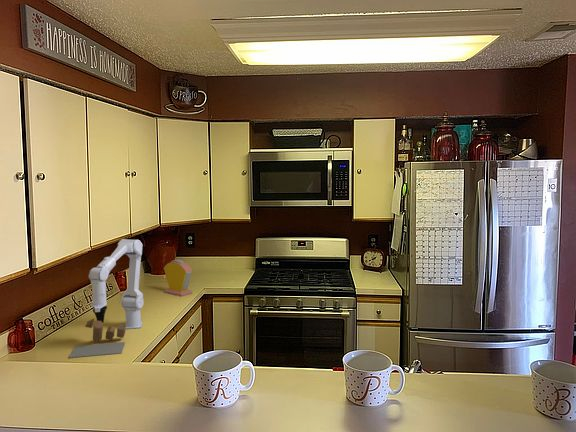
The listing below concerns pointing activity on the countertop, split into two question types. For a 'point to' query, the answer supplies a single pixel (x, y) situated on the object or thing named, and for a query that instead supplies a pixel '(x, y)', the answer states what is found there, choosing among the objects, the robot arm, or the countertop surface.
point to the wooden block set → (109, 333)
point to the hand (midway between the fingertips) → (100, 323)
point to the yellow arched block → (178, 277)
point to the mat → (97, 350)
